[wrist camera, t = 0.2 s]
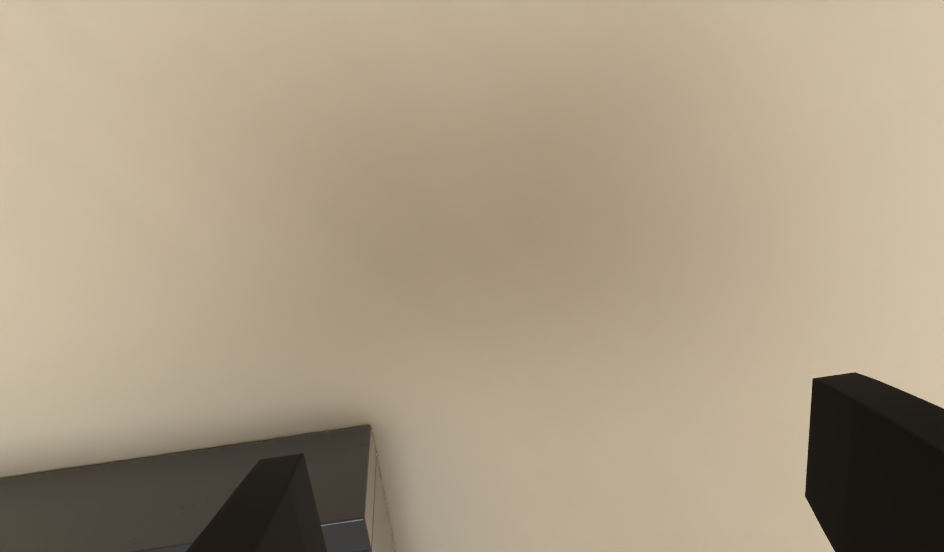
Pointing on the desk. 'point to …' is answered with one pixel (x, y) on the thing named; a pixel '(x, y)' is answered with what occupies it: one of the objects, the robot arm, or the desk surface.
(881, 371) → the desk surface
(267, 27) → the desk surface
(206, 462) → the sink
